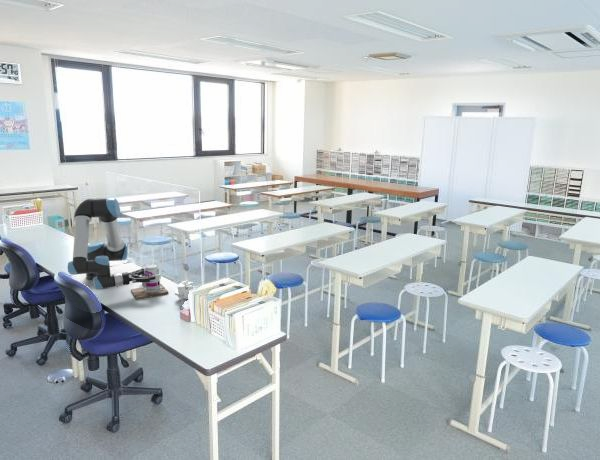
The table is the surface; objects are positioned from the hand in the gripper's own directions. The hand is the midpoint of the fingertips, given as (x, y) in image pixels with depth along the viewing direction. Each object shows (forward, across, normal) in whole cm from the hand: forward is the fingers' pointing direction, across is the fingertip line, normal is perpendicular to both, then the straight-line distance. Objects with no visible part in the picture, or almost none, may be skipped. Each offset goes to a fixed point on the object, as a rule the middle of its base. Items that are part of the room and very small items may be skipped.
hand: (157, 273), depth 280 cm
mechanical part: (+10, +22, -12) cm, 27 cm away
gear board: (-6, 0, -12) cm, 13 cm away
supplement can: (-3, 0, -10) cm, 11 cm away
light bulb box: (0, -20, -12) cm, 23 cm away
